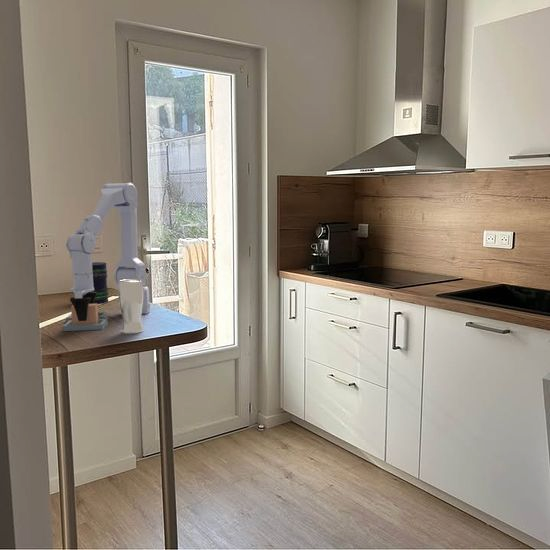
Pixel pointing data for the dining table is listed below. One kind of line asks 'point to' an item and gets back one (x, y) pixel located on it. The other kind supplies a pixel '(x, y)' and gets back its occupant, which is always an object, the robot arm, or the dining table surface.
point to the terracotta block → (91, 315)
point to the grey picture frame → (85, 326)
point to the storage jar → (100, 282)
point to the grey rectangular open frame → (100, 316)
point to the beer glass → (131, 305)
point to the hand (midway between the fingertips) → (85, 318)
